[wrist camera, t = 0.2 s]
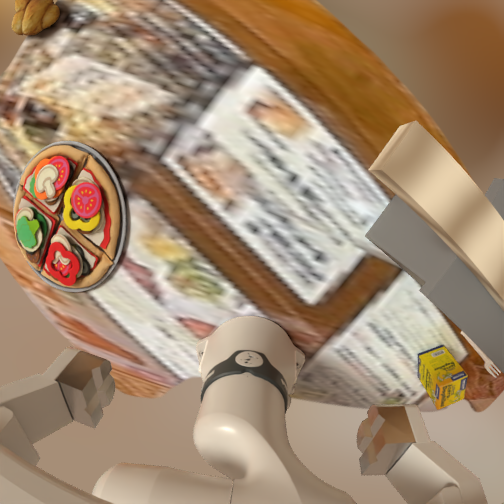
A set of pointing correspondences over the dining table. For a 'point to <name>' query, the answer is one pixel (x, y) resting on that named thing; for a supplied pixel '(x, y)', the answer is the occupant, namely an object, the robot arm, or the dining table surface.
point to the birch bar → (445, 202)
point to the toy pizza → (70, 216)
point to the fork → (482, 354)
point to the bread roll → (34, 16)
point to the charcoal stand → (444, 272)
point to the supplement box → (441, 376)
